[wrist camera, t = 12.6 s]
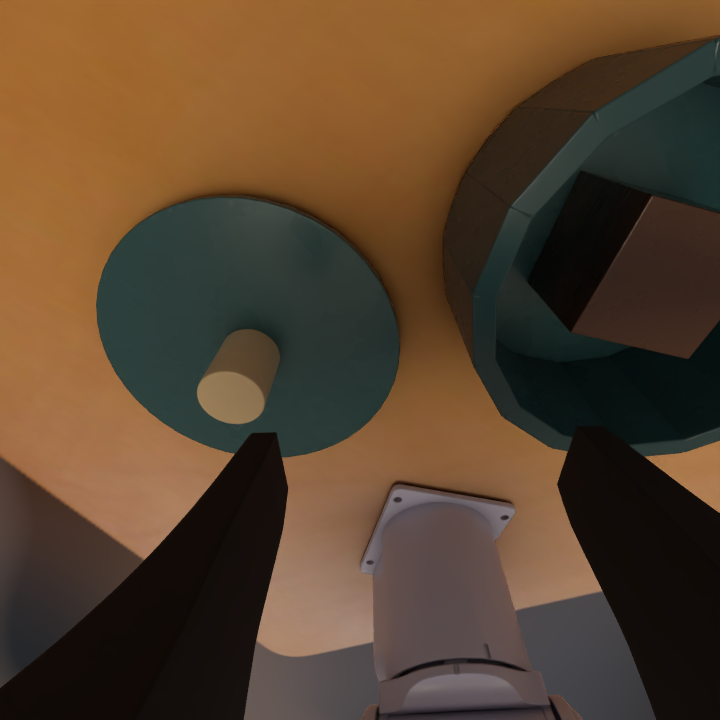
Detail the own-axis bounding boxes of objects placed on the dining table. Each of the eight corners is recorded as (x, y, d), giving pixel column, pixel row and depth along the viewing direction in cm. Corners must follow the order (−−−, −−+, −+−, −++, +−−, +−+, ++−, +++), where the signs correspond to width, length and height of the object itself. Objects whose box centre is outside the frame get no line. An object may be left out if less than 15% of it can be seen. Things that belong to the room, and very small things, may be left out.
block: (620, 304, 17) (688, 359, 14) (526, 281, 17) (570, 333, 13) (688, 199, 15) (792, 232, 11) (580, 170, 15) (652, 194, 11)
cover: (361, 461, 24) (360, 529, 20) (122, 419, 22) (73, 484, 18) (437, 236, 16) (458, 276, 13) (91, 151, 15) (0, 169, 11)
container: (641, 389, 20) (730, 482, 15) (405, 338, 19) (418, 423, 14) (860, 106, 14) (1137, 111, 9) (521, -3, 12) (624, -69, 7)
